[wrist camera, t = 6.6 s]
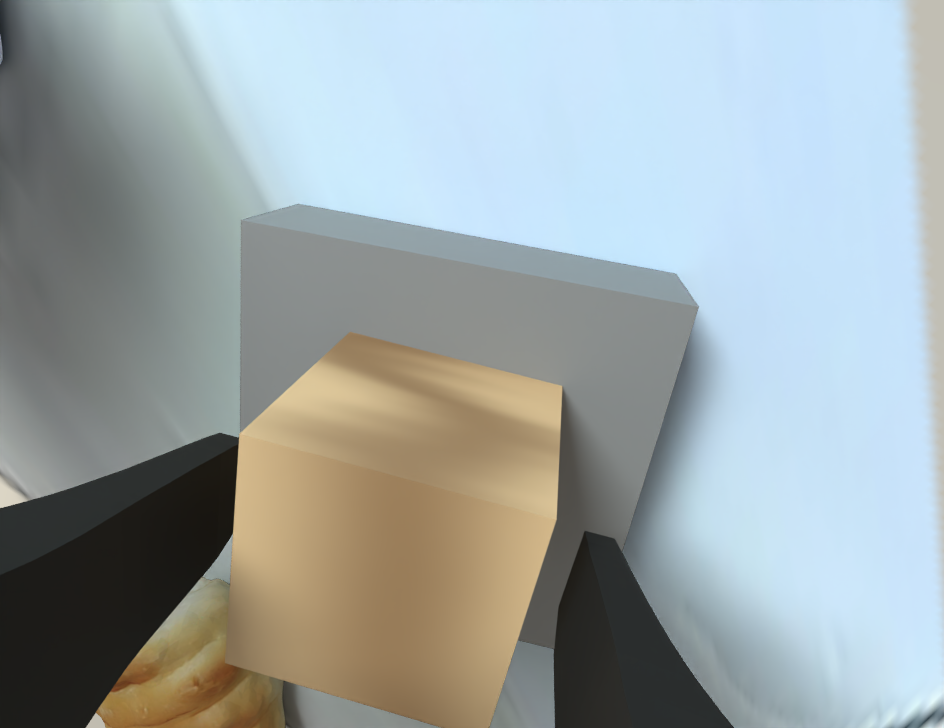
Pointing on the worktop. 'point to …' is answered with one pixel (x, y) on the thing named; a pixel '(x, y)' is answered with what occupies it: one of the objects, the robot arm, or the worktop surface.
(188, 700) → the pastry
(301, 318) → the gray block
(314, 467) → the oak block
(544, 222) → the worktop surface
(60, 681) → the robot arm
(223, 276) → the worktop surface
